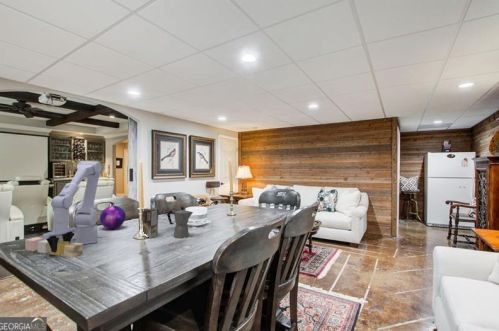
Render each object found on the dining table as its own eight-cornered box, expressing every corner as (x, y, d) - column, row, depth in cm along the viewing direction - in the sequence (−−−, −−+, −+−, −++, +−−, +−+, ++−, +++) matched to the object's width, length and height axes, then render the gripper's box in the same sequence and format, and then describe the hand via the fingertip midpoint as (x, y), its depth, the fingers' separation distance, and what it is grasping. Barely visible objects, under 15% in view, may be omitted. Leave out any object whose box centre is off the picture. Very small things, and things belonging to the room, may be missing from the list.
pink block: (36, 247, 125) (36, 237, 125) (43, 248, 124) (44, 238, 124) (25, 250, 121) (25, 239, 121) (32, 251, 119) (33, 240, 119)
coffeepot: (192, 234, 159) (193, 205, 160) (192, 238, 150) (193, 208, 150) (167, 234, 156) (168, 205, 156) (165, 238, 147) (166, 208, 147)
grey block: (48, 249, 123) (48, 238, 123) (56, 250, 122) (56, 240, 122) (37, 252, 118) (37, 241, 118) (45, 253, 117) (45, 242, 117)
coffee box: (158, 235, 152) (159, 209, 153) (150, 238, 146) (151, 211, 146) (145, 234, 155) (146, 208, 156) (138, 236, 149) (139, 209, 149)
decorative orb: (93, 230, 160) (94, 207, 160) (110, 225, 175) (111, 203, 175) (114, 232, 157) (115, 208, 157) (129, 226, 172) (130, 205, 172)
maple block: (73, 253, 119) (74, 242, 119) (82, 254, 117) (82, 243, 117) (63, 256, 114) (64, 245, 114) (72, 258, 113) (72, 247, 113)
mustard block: (61, 250, 121) (61, 240, 121) (68, 252, 120) (69, 241, 120) (50, 254, 116) (50, 243, 116) (58, 255, 115) (58, 244, 115)
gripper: (69, 217, 126) (68, 244, 126) (38, 223, 112) (36, 254, 112) (80, 219, 124) (79, 246, 124) (50, 225, 110) (48, 255, 110)
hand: (59, 250), depth 118 cm, fingers closed on mustard block, 5 cm apart
